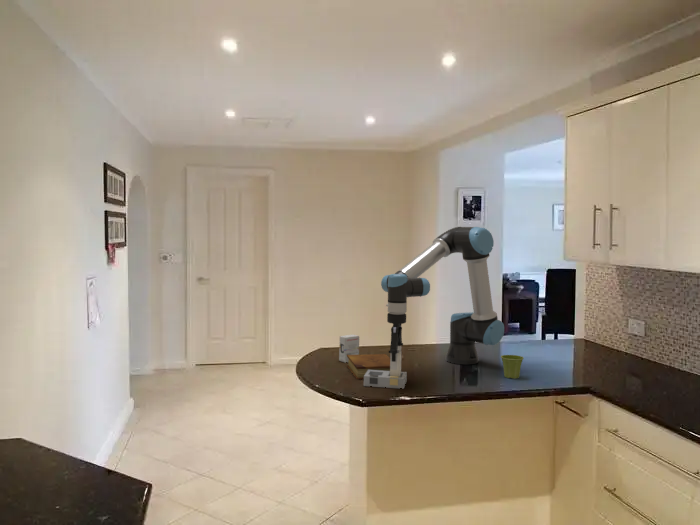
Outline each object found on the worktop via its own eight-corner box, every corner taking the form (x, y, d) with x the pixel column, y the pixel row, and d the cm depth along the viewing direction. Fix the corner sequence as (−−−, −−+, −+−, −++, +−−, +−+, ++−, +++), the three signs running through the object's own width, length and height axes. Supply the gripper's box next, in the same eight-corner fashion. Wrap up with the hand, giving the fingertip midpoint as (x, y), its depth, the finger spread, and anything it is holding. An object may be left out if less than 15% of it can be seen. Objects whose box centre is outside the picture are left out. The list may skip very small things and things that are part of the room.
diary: (400, 379, 254) (400, 365, 253) (356, 380, 250) (356, 367, 250) (387, 365, 276) (387, 353, 276) (346, 367, 273) (347, 354, 272)
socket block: (406, 381, 247) (406, 371, 247) (403, 388, 236) (404, 378, 236) (368, 379, 250) (368, 369, 250) (363, 386, 239) (363, 375, 239)
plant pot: (495, 375, 260) (496, 355, 260) (513, 373, 264) (514, 353, 264) (509, 380, 252) (510, 360, 251) (527, 378, 256) (528, 358, 255)
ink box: (352, 358, 288) (353, 334, 287) (359, 360, 284) (360, 335, 283) (338, 360, 283) (338, 335, 282) (345, 363, 279) (345, 337, 278)
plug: (400, 381, 244) (401, 349, 243) (399, 383, 240) (400, 351, 240) (390, 380, 245) (391, 349, 244) (389, 382, 241) (390, 351, 240)
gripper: (391, 308, 254) (390, 358, 255) (383, 317, 229) (382, 372, 231) (409, 309, 252) (408, 359, 254) (403, 318, 228) (401, 373, 229)
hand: (395, 365), depth 242 cm, fingers open, 13 cm apart
